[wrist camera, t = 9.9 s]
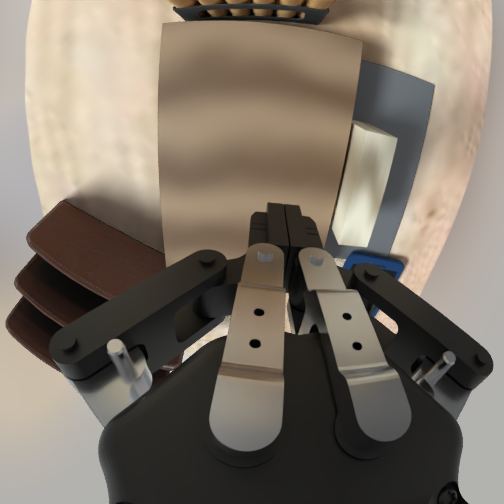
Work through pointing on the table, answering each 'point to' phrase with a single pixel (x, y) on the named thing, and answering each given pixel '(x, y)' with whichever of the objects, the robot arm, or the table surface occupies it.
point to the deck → (249, 128)
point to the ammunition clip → (253, 10)
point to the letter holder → (76, 277)
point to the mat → (406, 152)
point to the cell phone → (385, 264)
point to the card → (362, 183)
